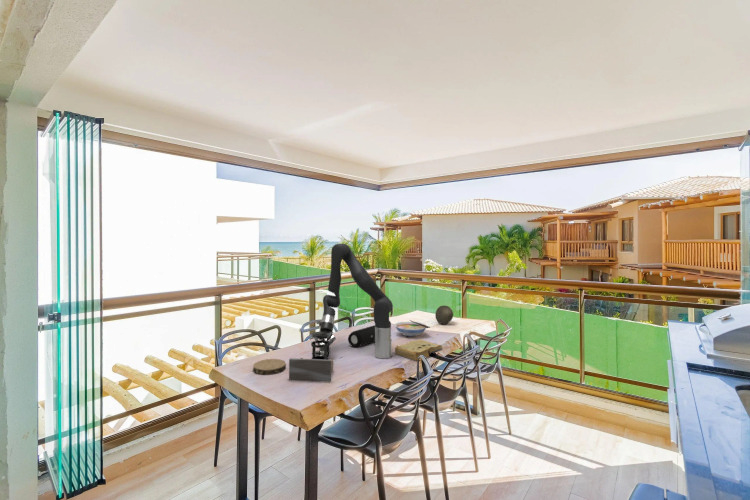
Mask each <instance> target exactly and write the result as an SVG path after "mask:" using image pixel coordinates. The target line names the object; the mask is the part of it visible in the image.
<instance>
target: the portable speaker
mask: <svg viewBox="0 0 750 500" xmlns="http://www.w3.org/2000/svg"><path fill="white" fill-rule="evenodd" d="M347 341H348V343H349V345H350V346H351V347H353V348H354V347H355V348H359V347H362V346H364V345H367V344H370V343H373V342H375V324H374V325H370V326H367V327H364V328H361V329H357V330H353V331H351V332H350V333H349V335H348V338H347Z"/></svg>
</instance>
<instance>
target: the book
mask: <svg viewBox="0 0 750 500" xmlns="http://www.w3.org/2000/svg"><path fill="white" fill-rule="evenodd" d="M443 349H444V348H443V346H442V344H437V343H434V342H430V341H427V340H423V339H417V340H411V341H409V342H406V343H404V344H402V345H396V346H395V348H394V356H397V357H399V358H403V359H406V360H409V361H412V362H414V363H416V362H419V361H421V360H419V361H418V357H419V356H420V355H424V356H425V357H426V359H428V358H430V355H432V354H431V353H433V354H435V353H439V352H440V351H443Z"/></svg>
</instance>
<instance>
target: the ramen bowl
mask: <svg viewBox="0 0 750 500" xmlns="http://www.w3.org/2000/svg"><path fill="white" fill-rule="evenodd" d="M394 326H395V328H396V330H397V332H399V333H400V334H402V335H403V336H406V337H409V338H413V337H417V336H419V335H421V334H423V333H424V332H425V331H426V329H430V328H431V326H428V325H427V324H426V323H422V322H418V321H413V320H410V319H409V321H399V322H396V323H395V324H394Z"/></svg>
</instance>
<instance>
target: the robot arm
mask: <svg viewBox="0 0 750 500" xmlns="http://www.w3.org/2000/svg"><path fill="white" fill-rule="evenodd" d="M330 253H331V255H330V257H331V258H330V259H331V260H330V273H329V274H330V275H329V282H328V287H327V291H328V292H329V293H332V294H334V295H331V294H325V295H324V296H323V299H322V305H323V313H322V318H321V320H320V322H324V323H323V324H321V326H319V330H318V332H327V333H328V338H327V339H323V340H322V341H329V347H331V345H332V344H333V343H334V342H335V341H336V340H337V339H336V336H335V335H333V332H334V331H333V330H334V326H335V317H336V310H335V308H336V309H337V308H338V307H339V306H340V305H341V298H340V290H341V284H342V274H341V273H342V272H341V265H342V261H344V263H345V264H346V265H347V266H348V269H349V273H350V275H351V277H352V280H353V281H354V283H356V285H357V286H358V287H359V288H360V289H361V290H362V291H363V292H365V293H366V294H367V295H368V296H369V297H371V298H372V299H373V301H374V302H375V303H374V305H373V321H374V325H375V341H374V357H375V358H376V359H377V358H378V359H390V358H391V356H392V322H391V320H390V313H391V312H392V311H393V309H394V305H393V303H392V301H391V299H390V298H389V296H387V295H386V294H385V293H384V292H383V291H382V289H380V287H379V285H378V284H377V283H376V282H375V280H374V279H373V278H372V276H371V275H370V274H369V272H368V271H367V270H366V269H365V268H364V267H365V266H363V265H362V263H361V262H360V261H359V259H357V258H356V255H355V253H354V252H353V251H352V249H351V248H350V246H349V245H348V244H346V243H335V244H333V246H332V247H331V252H330ZM313 338H314V340H315V341H319V340H320V339H318V338H317V337H316V336H315V337H313ZM316 345H319V343H316ZM320 345H324V343H320ZM320 351H324V347H322V348H320Z"/></svg>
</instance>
